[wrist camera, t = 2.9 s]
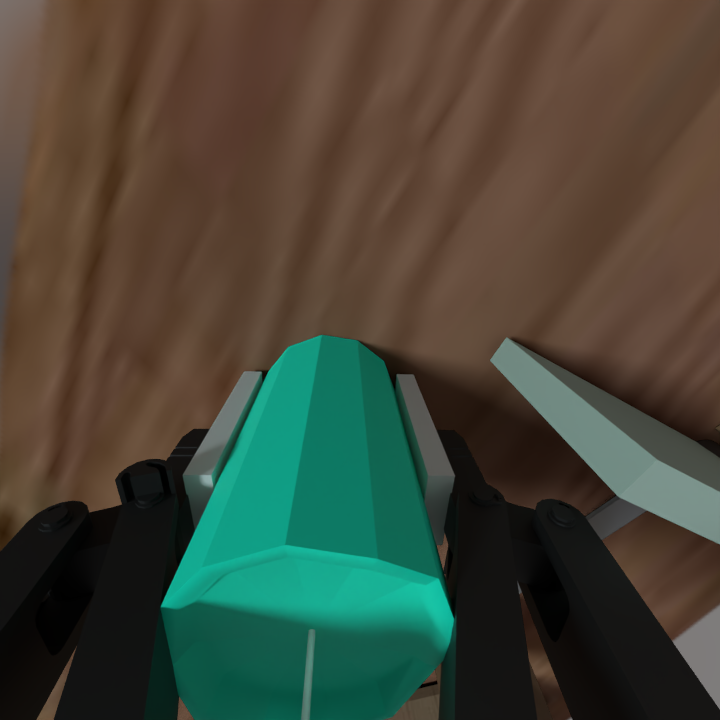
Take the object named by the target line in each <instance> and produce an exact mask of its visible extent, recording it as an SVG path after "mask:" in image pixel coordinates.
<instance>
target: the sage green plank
mask: <svg viewBox="0 0 720 720" xmlns="http://www.w3.org/2000/svg"><path fill="white" fill-rule="evenodd" d="M490 361H491V362H492V363H493V364H494V365H495V366H496V367H497V368H498V369H499V371H500V372H501V373H502V374H503V375H504V376H505V377H506V378H507V379H508V380H509V381H510V382H511V383H512V384H513V385H514V386H515V388H516V389H517V390H518V391H519V392H520V393H521V394H522V395H523V396H524V397H525V398H526V399H527V400H528V401H529V402H530V403H531V405H532V406H533V407H534V408H535V409H536V410H537V411H538V412H539V413H540V414H541V415H542V416H543V417H544V418H545V419H546V420H547V422H548V423H549V424H550V425H551V426H552V427H553V428H554V429H555V430H556V431H557V432H558V433H559V434H560V435H561V436H562V437H563V439H564V440H565V441H566V442H567V443H568V444H569V445H570V446H571V447H572V448H573V449H574V450H575V451H576V452H577V453H578V454H579V456H580V457H581V458H582V459H583V460H584V461H585V462H586V463H587V464H588V465H589V466H590V467H591V468H592V469H593V470H594V471H595V473H596V474H597V475H598V476H599V477H600V478H601V479H602V480H603V481H604V482H605V483H606V484H607V485H608V486H609V487H610V488H611V490H612V491H613V492H614V493H615V494H616V495H617V496H618V497H620V498H622V499H624V500H626V501H628V502H630V503H632V504H635V505H637V506H639V507H641V508H643V509H645V510H647V511H649V512H652V513H654V514H656V515H658V516H660V517H662V518H664V519H667V520H669V521H671V522H673V523H675V524H677V525H679V526H682V527H684V528H686V529H688V530H690V531H692V532H694V533H697V534H699V535H701V536H703V537H705V538H707V539H709V540H712V541H714V542H716V543H718V544H720V458H719V457H718V456H716V455H715V454H713V453H712V452H710V451H709V450H707V449H706V448H704V447H703V446H701V445H700V444H699V443H697V442H695V441H694V440H692V439H690V438H688V437H686V436H685V435H683V434H681V433H679V432H677V431H676V430H674V429H672V428H670V427H668V426H666V425H665V424H663V423H661V422H659V421H657V420H656V419H654V418H652V417H650V416H648V415H647V414H645V413H643V412H641V411H639V410H637V409H636V408H634V407H632V406H630V405H628V404H627V403H625V402H623V401H621V400H619V399H618V398H616V397H614V396H612V395H610V394H608V393H607V392H605V391H603V390H601V389H599V388H598V387H596V386H594V385H592V384H590V383H589V382H587V381H585V380H583V379H581V378H579V377H578V376H576V375H574V374H572V373H570V372H569V371H567V370H565V369H563V368H561V367H560V366H558V365H556V364H554V363H552V362H551V361H549V360H547V359H545V358H543V357H541V356H540V355H538V354H536V353H534V352H532V351H531V350H529V349H527V348H525V347H523V346H522V345H520V344H518V343H516V342H514V341H512V340H511V339H509V338H507V337H506V339H505V340H504V342H503V343H502V344H501V346H500V347H499V348H498V350H497V351H496V353H495V354H494V355H493V357H492V358H491V359H490Z"/></svg>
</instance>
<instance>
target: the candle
mask: <svg viewBox="0 0 720 720" xmlns="http://www.w3.org/2000/svg"><path fill="white" fill-rule="evenodd" d="M160 609H161V613H162V618H163V622H164V627H165V632H166V636H167V641H168V645H169V650H170V654H171V659H172V664H173V669H174V675H175V680H176V686H177V691H178V695H179V697H180V698H181V700H182V701H183V703H184V704H185V706H186V707H187V709H188V711H189V712H190V714H191V715H192V717H193V718H194V720H384V719H388V718H391V717H393V716H394V715H395V714H396V712H397V711H398V710H399V709H400V708H401V707H402V706H403V705H404V704H405V702H406V701H407V700H408V699H409V698H410V697H411V696H412V695H413V693H414V692H415V691H416V690H417V689H418V688H419V687H420V686H421V684H422V683H423V682H424V681H425V680H426V679H427V678H428V677H429V676H430V674H431V673H432V672H433V671H434V670H435V669H436V668H437V667H438V665H439V664H440V663H441V662H442V661H443V660H444V657H445V654H446V652H447V649H448V646H449V643H450V639H451V634H452V628H453V623H454V615H453V608H452V601H451V598H450V594H449V590H448V587H447V583H446V579H445V575H444V572H443V568H442V564H441V561H440V557H439V553H438V549H437V546H436V542H435V538H434V535H433V531H432V527H431V523H430V520H429V516H428V512H427V509H426V505H425V502H424V498H423V494H422V490H421V487H420V483H419V479H418V476H417V472H416V468H415V465H414V461H413V457H412V453H411V450H410V446H409V442H408V439H407V435H406V431H405V427H404V424H403V420H402V416H401V413H400V409H399V405H398V401H397V398H396V394H395V390H394V387H393V384H392V382H391V379H390V376H389V373H388V371H387V368H386V365H385V362H384V361H383V360H382V359H381V358H379V357H378V356H377V355H375V354H374V353H373V352H372V351H370V350H369V349H368V348H367V347H365V346H364V345H363V344H361V343H360V342H359V341H358V340H352V339H345V338H339V337H332V336H326V335H320V336H317V337H314V338H312V339H309V340H306V341H303V342H300V343H298V344H295V345H292V346H289V347H288V348H287V349H286V350H285V352H284V353H283V354H282V355H281V357H280V358H279V359H278V360H277V361H276V363H275V364H274V365H273V366H272V368H271V369H270V370H269V371H268V373H267V375H266V377H265V380H264V382H263V384H262V386H261V388H260V390H259V393H258V395H257V397H256V399H255V401H254V404H253V406H252V408H251V410H250V412H249V414H248V417H247V419H246V421H245V423H244V425H243V428H242V430H241V432H240V434H239V436H238V438H237V441H236V443H235V445H234V447H233V449H232V452H231V454H230V456H229V458H228V460H227V463H226V465H225V467H224V469H223V471H222V473H221V476H220V478H219V480H218V482H217V484H216V487H215V489H214V491H213V493H212V495H211V497H210V500H209V502H208V504H207V506H206V508H205V511H204V513H203V515H202V517H201V519H200V521H199V524H198V526H197V528H196V530H195V532H194V535H193V537H192V539H191V541H190V543H189V546H188V548H187V550H186V552H185V554H184V556H183V559H182V561H181V563H180V565H179V567H178V570H177V572H176V574H175V576H174V578H173V580H172V583H171V585H170V587H169V589H168V591H167V594H166V596H165V598H164V600H163V602H162V604H161V607H160Z"/></svg>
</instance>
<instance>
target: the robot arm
mask: <svg viewBox="0 0 720 720" xmlns="http://www.w3.org/2000/svg"><path fill="white" fill-rule="evenodd" d="M262 384H263V382H262V372H250V371H244V373H243V374H242V376H241V378H240V379H239V381H238V383H237V384H236V386H235V388H234V389H233V391H232V393H231V394H230V396H229V398H228V399H227V401H226V403H225V405H224V406H223V408H222V410H221V411H220V413H219V415H218V416H217V418H216V420H215V421H214V423H213V425H212V426H211V428H210V429H193V430H192V431H190V432H189V433H188V434H186V435H185V436H183V437H182V439H181V440H180V441H179V443H178V444H177V446H176V449H174V450H173V452H172V453H171V455H170V457H168V459H167V460H166V461H165V460H161V459H148V460H144V461H140V462H137V463H135V464H133V465H131V466H129V467H127V468H126V469H124V470H123V471H122V472H121V473H119V475H118V476H117V478H116V479H115V482H116V485H117V488H118V492H119V495H120V499H121V502H122V505H119V506H116V507H112V508H107V509H103V510H99V511H94V512H90V513H89V510H88V507H87V505H86V504H84V503H83V502H80V501H68V502H62V503H59V504H56V505H53V506H50V507H48V508H46V509H45V510H43V511H41V512H39V513H38V514H36V515H35V516H34V517H33V518H32V519H30V520H29V521H28V522H27V523H26V524H25V525H24V526H23V528H22V529H21V530H20V531H19V532H18V533H17V534H16V535H15V536H14V537H13V538H12V540H11V541H10V542H9V543H8V544H7V545H6V546H5V547H4V548H3V549H2V550H1V552H0V720H36V719H37V717H38V716H39V714H40V712H41V710H42V708H43V706H44V705H45V703H46V701H47V699H48V697H49V696H50V694H51V692H52V690H53V688H54V686H55V685H56V683H57V681H58V679H59V677H60V675H61V674H62V672H63V670H64V668H65V666H66V664H67V663H68V661H69V659H70V657H71V655H72V653H73V652H74V650H75V648H76V646H77V648H76V651H75V654H74V657H73V660H72V664H71V667H70V670H69V673H68V676H67V679H66V682H65V686H64V689H63V692H62V695H61V698H60V701H59V705H58V708H57V711H56V714H55V717H54V720H177V716H178V703H179V695H178V691H177V686H176V680H175V675H174V669H173V664H172V659H171V654H170V650H169V645H168V641H167V636H166V632H165V627H164V622H163V618H162V613H161V609H160V607H161V604H162V602H163V600H164V598H165V596H166V594H167V591H168V589H169V587H170V585H171V583H172V580H173V578H174V576H175V574H176V572H177V570H178V567H179V565H180V563H181V561H182V559H183V556H184V554H185V552H186V550H187V548H188V546H189V543H190V541H191V539H192V537H193V535H194V532H195V530H196V528H197V526H198V524H199V521H200V519H201V517H202V515H203V513H204V511H205V508H206V506H207V504H208V502H209V500H210V497H211V495H212V493H213V491H214V489H215V487H216V484H217V482H218V480H219V478H220V476H221V473H222V471H223V469H224V467H225V465H226V463H227V460H228V458H229V456H230V454H231V452H232V449H233V447H234V445H235V443H236V441H237V438H238V436H239V434H240V432H241V430H242V428H243V425H244V423H245V421H246V419H247V417H248V414H249V412H250V410H251V408H252V406H253V404H254V401H255V399H256V397H257V395H258V393H259V390H260V388H261V386H262ZM395 394H396V398H397V401H398V405H399V409H400V413H401V416H402V420H403V424H404V427H405V431H406V435H407V439H408V442H409V446H410V450H411V453H412V457H413V461H414V465H415V468H416V472H417V476H418V479H419V483H420V487H421V490H422V494H423V498H424V502H425V505H426V509H427V512H428V516H429V520H430V523H431V527H432V531H433V535H434V538H435V542H436V545H442V544H443V538H444V533H445V535H446V538H447V541H448V550H447V556H446V561H445V566H444V571H443V572H444V574H446V575H445V579H446V583H447V587H448V590H449V594H450V598H451V601H452V608H453V615H454V623H453V628H452V634H451V639H450V643H449V646H448V649H447V652H446V654H445V657H444V660H443V661H442V662H441V677H440V697H439V718H438V720H537V713H536V706H535V699H534V693H533V686H532V679H531V672H530V665H529V658H528V651H527V644H526V637H525V631H524V624H523V617H522V610H521V603H520V596H519V589H518V584H519V586H520V589H521V591H522V594H523V596H524V599H525V601H526V604H527V606H528V609H529V611H530V614H531V616H532V619H533V621H534V624H535V626H536V629H537V632H538V634H539V637H540V639H541V642H542V644H543V647H544V649H545V652H546V654H547V657H548V659H549V662H550V664H551V667H552V669H553V672H554V674H555V677H556V679H557V682H558V684H559V687H560V689H561V692H562V694H563V697H564V699H565V702H566V704H567V707H568V709H569V712H570V714H571V717H572V719H573V720H720V709H719V708H718V707H717V705H716V704H715V702H714V701H713V699H712V698H711V697H710V695H709V694H708V692H707V691H706V689H705V688H704V687H703V685H702V684H701V682H700V681H699V679H698V678H697V676H696V675H695V674H694V672H693V671H692V669H691V668H690V667H689V665H688V664H687V662H686V661H685V659H684V658H683V657H682V655H681V654H680V652H679V651H678V649H677V648H676V646H675V645H674V643H673V642H672V641H671V639H670V638H669V636H668V635H667V633H666V632H665V631H664V629H663V628H662V626H661V625H660V623H659V622H658V621H657V619H656V618H655V616H654V615H653V613H652V612H651V611H650V609H649V608H648V606H647V605H646V603H645V602H644V600H643V599H642V598H641V596H640V595H639V593H638V592H637V590H636V589H635V588H634V586H633V585H632V583H631V582H630V580H629V579H628V578H627V576H626V575H625V573H624V572H623V570H622V569H621V568H620V566H619V565H618V563H617V562H616V560H615V559H614V557H613V556H612V555H611V553H610V552H609V550H608V549H607V547H606V546H605V545H604V543H603V542H602V540H601V539H600V537H599V536H598V535H597V533H596V532H595V530H594V529H593V527H592V526H591V525H590V523H589V522H588V520H587V519H586V518H585V516H584V515H583V514H582V513H581V512H580V511H579V510H577V509H576V508H574V507H573V506H571V505H570V504H567V503H565V502H562V501H560V500H554V499H545V500H542V501H540V502H539V503H537V506H536V509H535V510H534V509H530V508H526V507H522V506H518V505H514V504H511V503H508V502H506V501H505V499H504V497H503V495H502V494H501V493H500V492H499V491H498V490H496V489H495V488H493V487H492V486H490V485H487V484H486V482H485V480H484V478H483V476H482V474H481V472H480V470H479V468H478V466H477V464H476V462H475V460H474V458H473V457H472V454H471V452H470V450H468V446H467V444H466V443H465V441H464V439H463V438H462V437H461V436H460V435H459V434H458V433H456V432H455V431H454V430H436V428H435V426H434V424H433V421H432V419H431V416H430V414H429V411H428V409H427V406H426V404H425V402H424V399H423V397H422V394H421V392H420V389H419V387H418V384H417V382H416V380H415V377H414V375H413V374H397V375H396V387H395ZM517 581H518V582H517ZM77 644H78V645H77Z"/></svg>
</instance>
